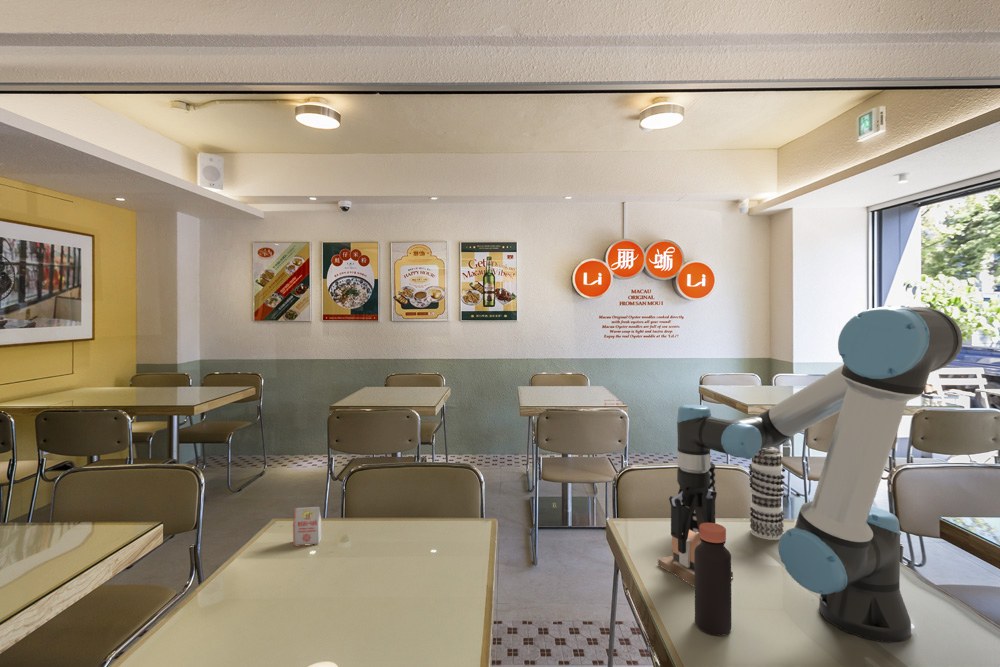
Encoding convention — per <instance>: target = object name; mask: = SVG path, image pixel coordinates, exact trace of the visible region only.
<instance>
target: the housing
mask: <svg viewBox="0 0 1000 667" xmlns="http://www.w3.org/2000/svg"><path fill="white" fill-rule="evenodd" d="M688 540H690V561H691V562H693V563H694V551H695V548H696V546H698V545H699V544H700V543H701V540H700V536H699V534H698V533H696V532H694V531H691V530H689V533H688ZM671 548H672V550H671V551H672V553H673V552H674V553H676V554H678V555H679V551H678V539H677V538H675V537H673V536H671Z"/></svg>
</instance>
